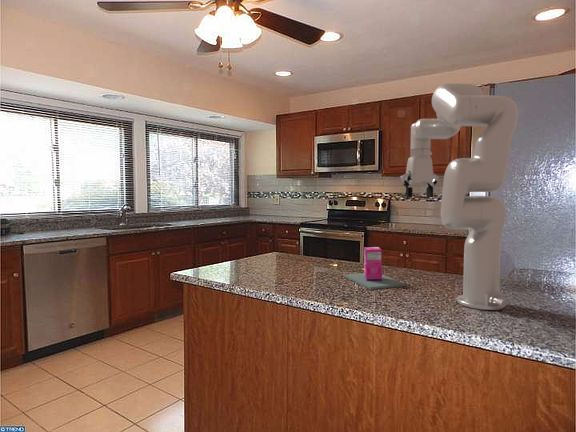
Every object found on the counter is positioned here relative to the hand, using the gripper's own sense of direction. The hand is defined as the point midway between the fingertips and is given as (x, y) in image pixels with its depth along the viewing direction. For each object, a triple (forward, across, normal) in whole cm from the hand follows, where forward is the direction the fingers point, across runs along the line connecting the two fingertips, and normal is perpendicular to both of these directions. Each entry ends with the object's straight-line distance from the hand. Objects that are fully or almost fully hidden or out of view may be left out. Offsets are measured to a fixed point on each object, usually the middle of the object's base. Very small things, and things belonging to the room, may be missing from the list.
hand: (419, 197), depth 153 cm
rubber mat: (+30, +25, +7) cm, 40 cm away
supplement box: (+30, +25, +7) cm, 40 cm away
